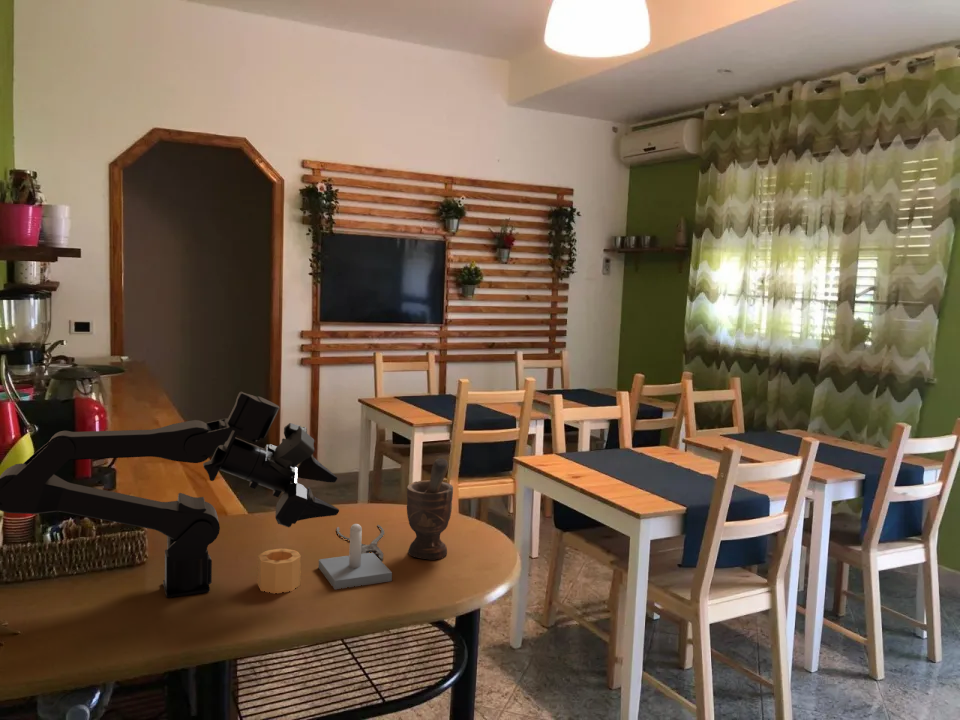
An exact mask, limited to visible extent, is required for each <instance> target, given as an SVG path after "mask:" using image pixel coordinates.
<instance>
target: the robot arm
mask: <svg viewBox="0 0 960 720" xmlns="http://www.w3.org/2000/svg"><path fill="white" fill-rule="evenodd" d="M279 411H280V406H279V404H276V403H274V402H272V401H270V400H268V399H266V398H263V397H262V396H255V395H252V394H249V393H246V392H243V391H240V392H239V393H238V394H237V397H236V399H235V403H234V406H233V407H232V410H231V411H230V414H229V416H228V418H220V419H217V420H213V421H208V422H205V421H202V420H198V419H194V420H193V419H192V420H189V421H188V420H187V421H183V422H177V423H172V424H169V425H165V426H162V427H157V428H152V429H135V430H134V429H128V430H127V429H126V430H123V429H121V430H101V431H100V430H99V431H98V430H96V431H95V430H93V431H90V430H89V431H69V430H62V431H58V432H56V433H55V434H54V435H52V437H51V438H50V440H49V441H48V442H47V443H45V444H44V445H42V447H40V448H39V449H38V450H37V451H35V452H34V453H33V454H32V455H31V456H29V458H27V459H26V460H25V461H24V462H23V463H16V464H14V465H12V466H9V467H8V468H6V469H5V470H4V471H3V472H2V473H1V475H0V511H1V512H3V513H7V514H19V515H20V514H22V515H23V514H24V515H25V514H27V515H38V514H46V513H56V512H58V513H59V512H60V513H65V514H71V515H75V516H81V517H86V518H92V519H96V520H101V521H107V522H113V523H116V524H117V523H118V524H122V525H123V524H124V525H128V526H133V527H138V528H142V529H143V528H144V529H149V530H154V531H158V532H159V533H161V534H163V535H164V536H166V549H164V579H163V580H162V582H163V583H162V584H163V588H164V593H165V598H173V597H175V598H176V597H182V596H183V597H184V596H188V595H195V594H202V593H210V589H211V588H210V584H212V581H213V580H212V579H213V578H212V576H213V575H212V574H213V573H212V572H213V571H212V569H213V568H212V567H213V561H212V558H211V555H210V554H209V550H208V547H209V545H210V544H212V543H214V542H215V541H216V540H217V538H218V536H219V534H220V530H221V526H220V521H219V517H218V513H217V510H216V508H215V507H214V506H213V504H211V503H210V502H208V501H205V497H204V496H200V497H195V496H190V495H189V494H186V493H183V492H179V493H178V496H177V500H171V501H160V500H154V499H149V498H144V497H140V496H134V495H130V494H125V493H120V492H115V491H110V490H105V489H101V488H95V487H93V486H92V487H91V486H87V485H86V486H85V485H82V484H76V483H72V482H69V481H66V480H64V479H63V478H61V477H59V476H58V475H56V473H57V472H58V471H59V470H60V469H61V468H62V467H63V466H64V465H65V464H66V463H67V462H69V461H74V460H75V461H77V460H78V461H79V460H99V459H100V460H102V459H124V458H145V457H146V458H147V457H148V458H149V457H150V458H151V457H153V458H159V459H164V460H169V461H172V462H173V461H174V462H179V463H182V462H183V463H187V464H188V463H189V464H190V463H191V464H198V463H199V464H200V463H203V465H202V466H203V468H204V470H205V471H206V472H207V474H208V477H209V481H210V482H214V481H215V480H216V477H217V475H218V474H219V472H220V471H221V472H224V473H226V474H230V475H232V476H235V477H238V478H239V479H241V480H242V479H243V480H246V481H248V482H249V488H251V489H254V490H255V489H256V488H257V487H258V485H259V486H262V487H264V488H266V489H270V490H272V497H276V498H279V497H280V498H279V500H278V501H277V503H276V504H275V514H274V515H275V521H276V522H277V523H276V524H278V525H280V526H283V527H286V528H291V527H292V525H296V523H297V522H299V521H303V520H308V519H315V518H324V517H331V516H332V517H333V516H337V515H338V514H339V513H340V509H339V508H338V507H336V506H334V505H332V504H330V503H329V502H326V501H325V500H323V499H320V498H318V497H316V496H314V494H313V491H312V489H311V487H310V486H308V488H306V487H305V485H303V484H301V483H298V479H303V480H311V481H318V482H324V483H336V482H337V480H338V476H337V475H336V474H334V473H333V472H332V471H331V470H329V469H328V468H327V467H326V466H324V465H323V463H321V462H320V461H319V460H318V459H316V458H315V456H314V452H315V446H314V445H315V444H314V443H315V439H314V438H313V437H312V436H311V435H309V433H308V428H307V427H306V426H303V427H302V426H301V425H298V424H295V423H291V422H289V423H288V424H287V425H285V426H284V428H283V435H284V437H283V438H282V439H281V443H279V445H273V444H271V443H270V444H266V445H265V447H264V448H263V447H261V446H258V445H256V444H253V443H256V442H257V441H260V440H261V439H266V436H267V435H268V433H269V432H270V431H269V430H270V428H271V427H272V424H273V423H274V420H275V419H276V417H277V414H278V412H279ZM237 436H238V437H240V438H238V437H237ZM241 438H242V439H241ZM243 439H245V440H247V441H245V440H243ZM248 441H250V442H253V443H250V442H248ZM210 457H211V459H210V460H208V459H209V458H210ZM207 460H208V461H207ZM281 494H282V495H281ZM280 495H281V496H280Z"/></svg>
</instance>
